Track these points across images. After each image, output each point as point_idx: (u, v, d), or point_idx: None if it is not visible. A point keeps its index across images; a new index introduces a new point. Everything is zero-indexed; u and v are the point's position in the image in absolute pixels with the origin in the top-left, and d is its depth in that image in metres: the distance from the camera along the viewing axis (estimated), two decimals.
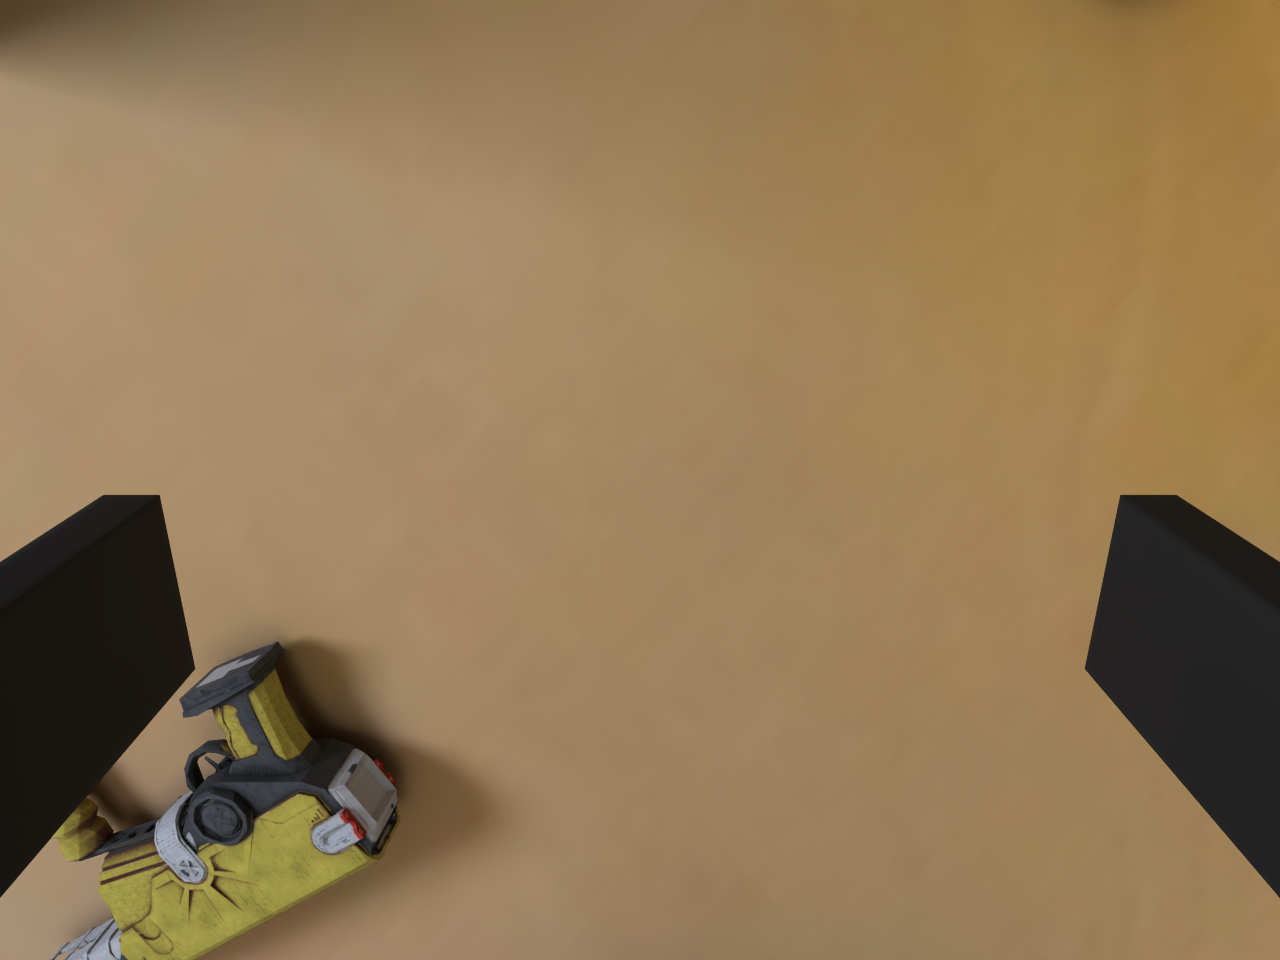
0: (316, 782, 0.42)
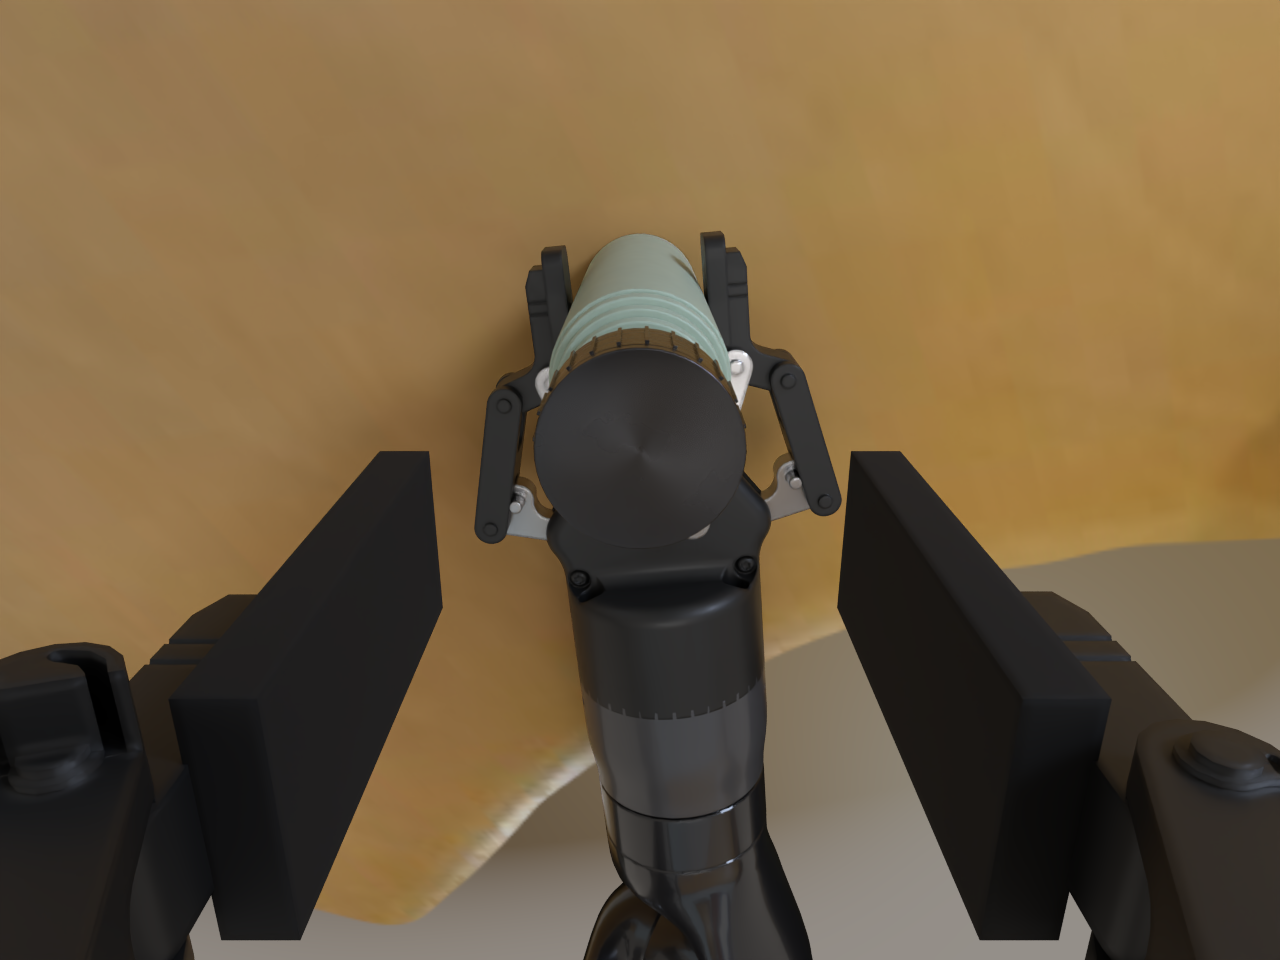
0: None
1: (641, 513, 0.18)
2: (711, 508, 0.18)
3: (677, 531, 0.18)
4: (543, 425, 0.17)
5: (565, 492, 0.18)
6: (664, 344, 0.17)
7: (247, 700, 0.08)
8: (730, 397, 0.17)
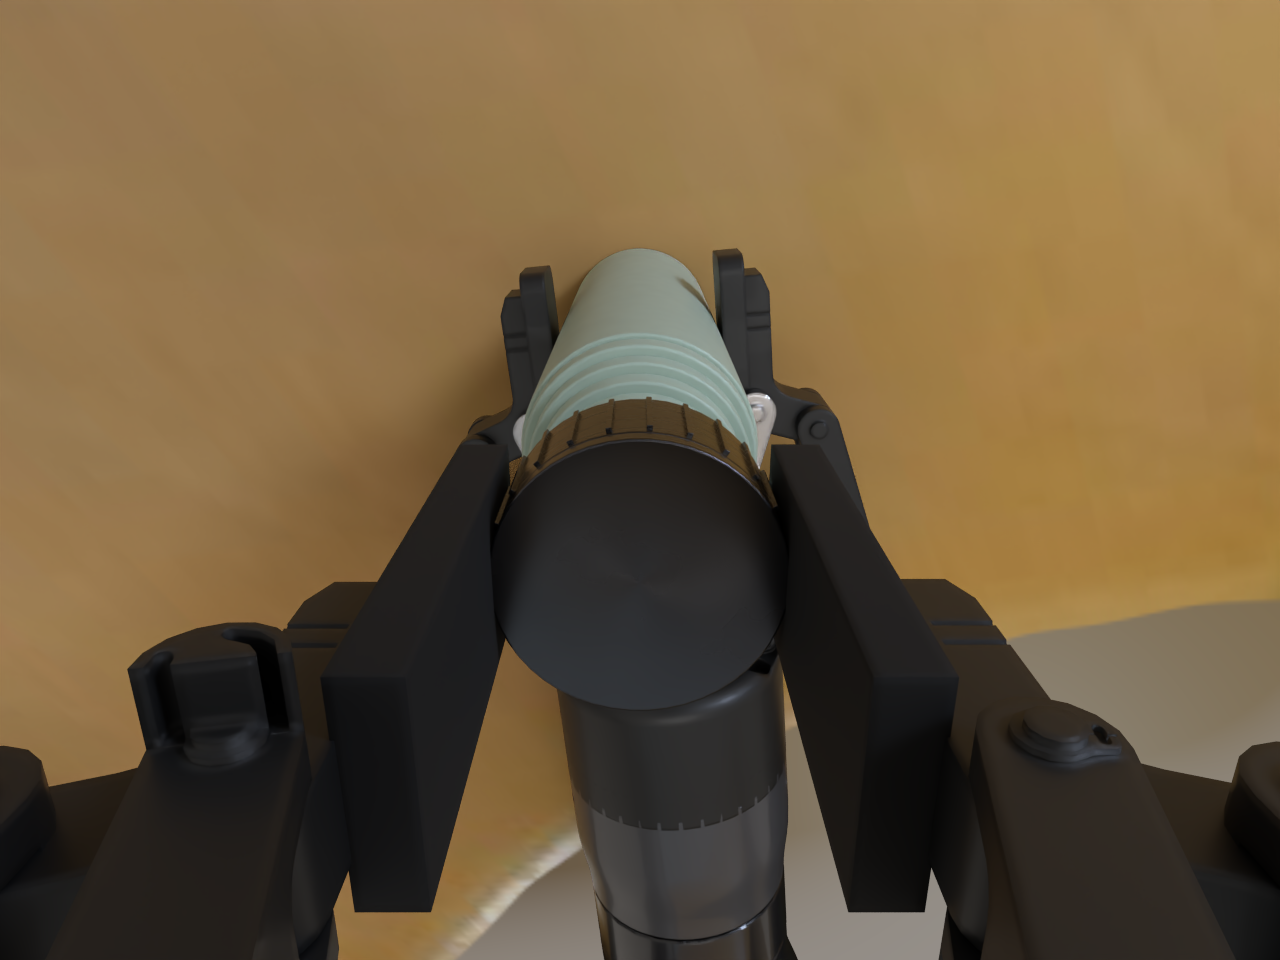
0: None
1: (641, 664, 0.13)
2: (740, 657, 0.13)
3: (692, 688, 0.13)
4: (501, 546, 0.12)
5: (534, 636, 0.13)
6: (674, 430, 0.12)
7: (394, 679, 0.08)
8: (769, 507, 0.12)
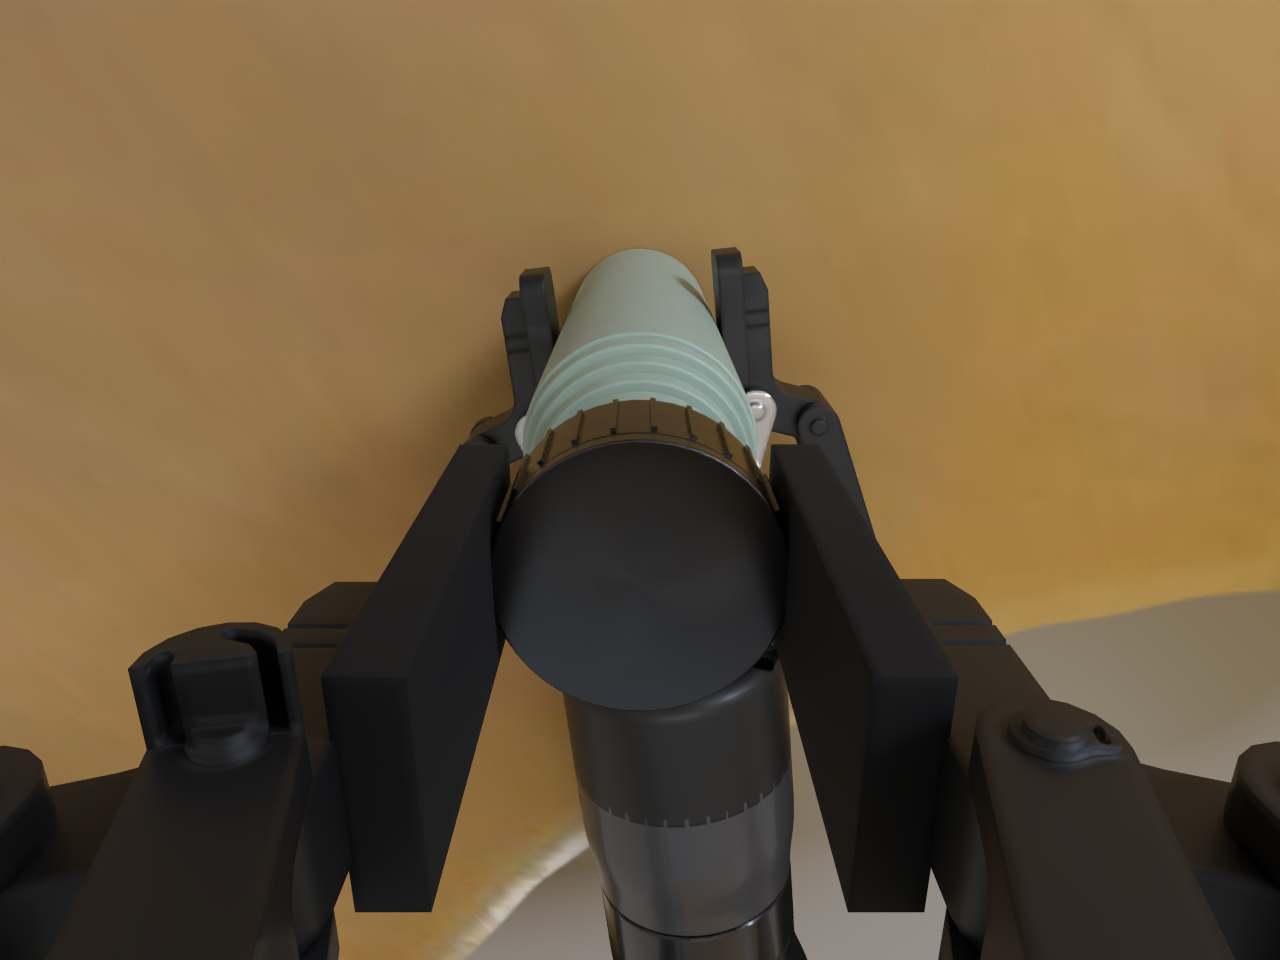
0: None
1: (707, 523, 0.12)
2: (630, 455, 0.12)
3: (692, 467, 0.12)
4: (700, 692, 0.13)
5: (756, 616, 0.13)
6: None
7: (395, 679, 0.08)
8: (492, 551, 0.12)
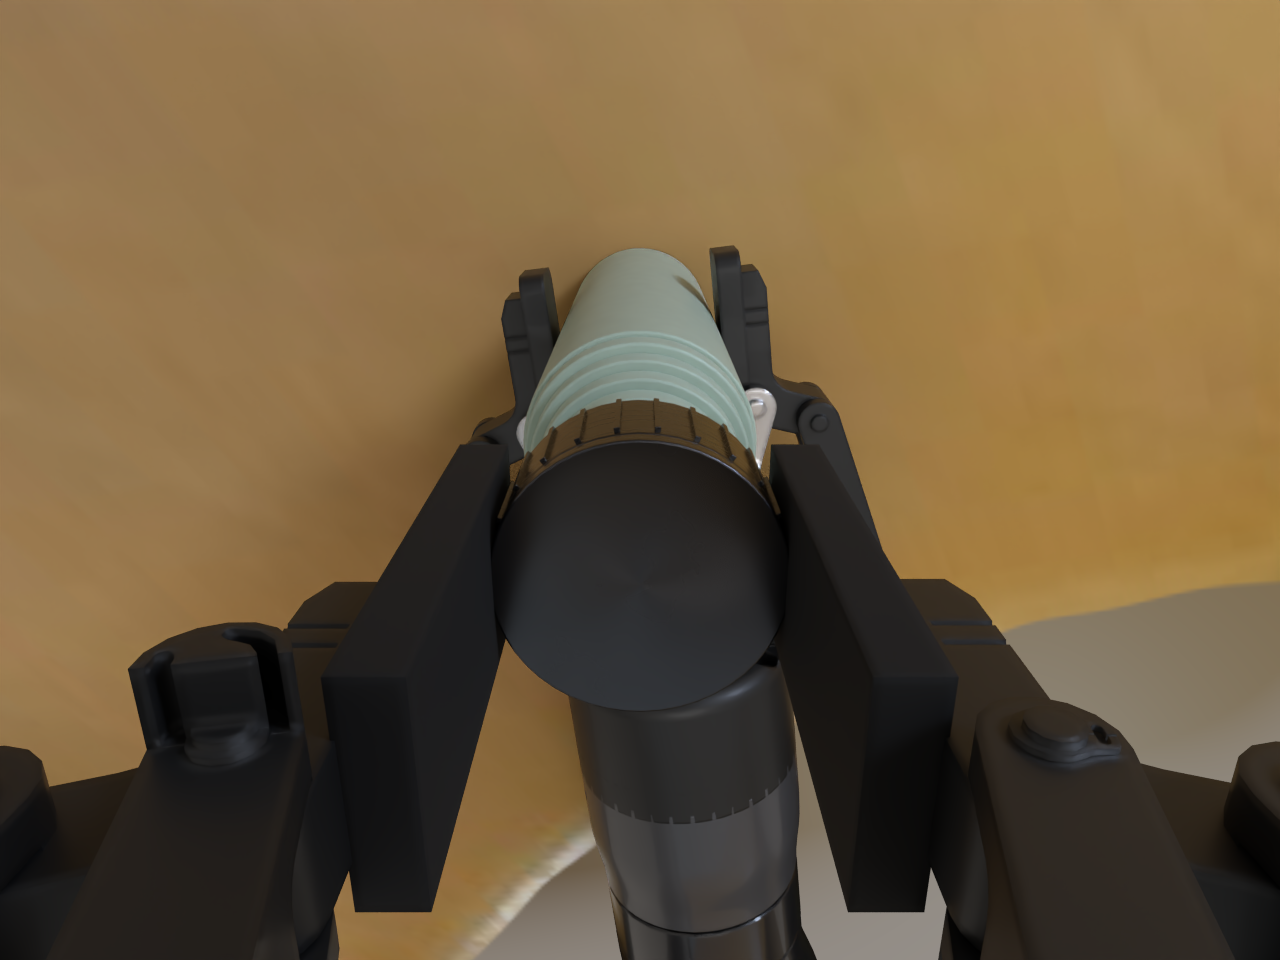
0: None
1: (546, 582, 0.12)
2: (552, 669, 0.13)
3: (517, 628, 0.13)
4: (690, 458, 0.12)
5: (582, 481, 0.12)
6: None
7: (395, 678, 0.08)
8: (711, 694, 0.13)
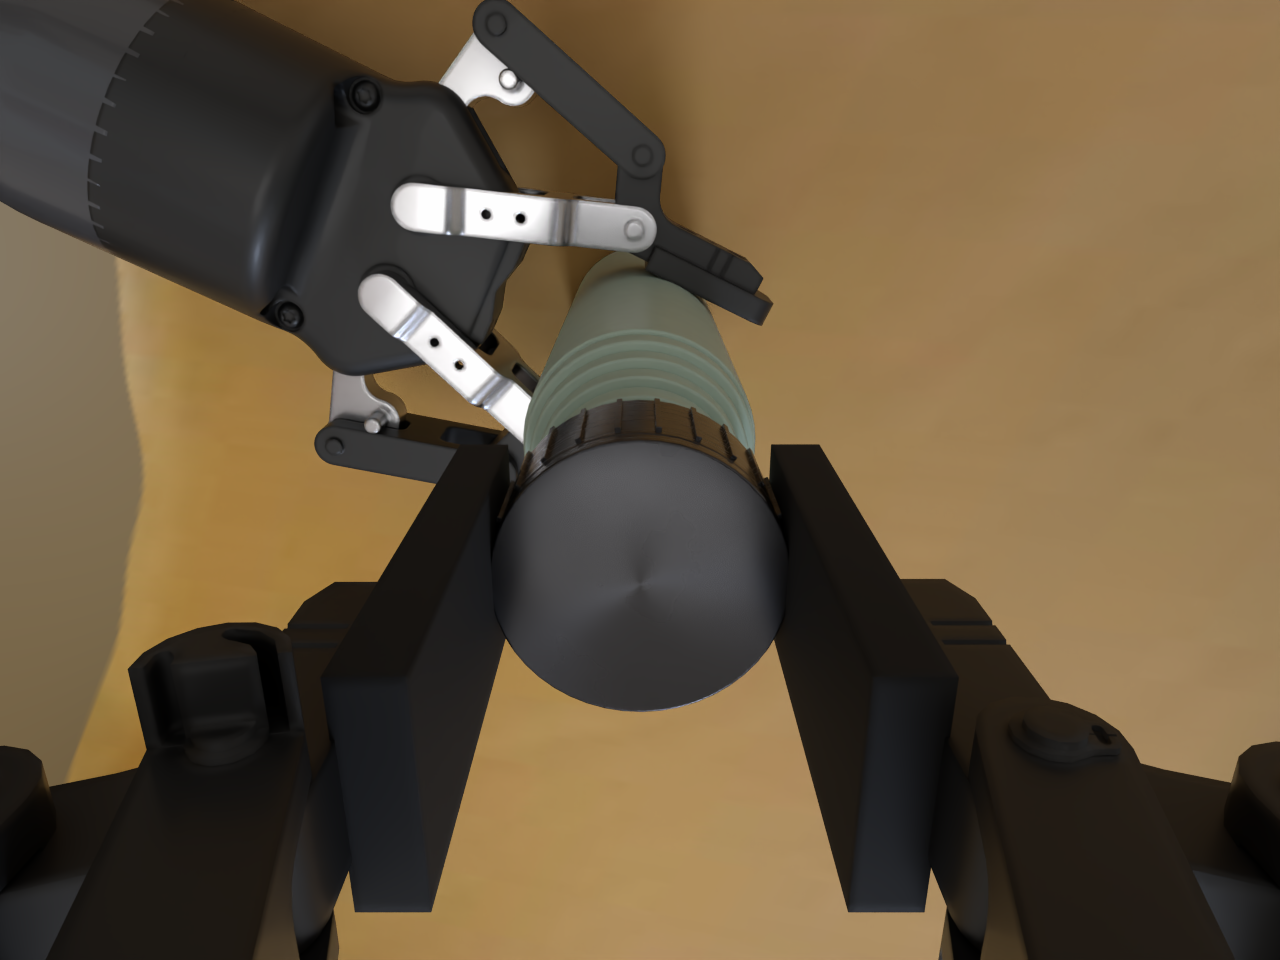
0: None
1: (546, 582, 0.12)
2: (551, 669, 0.13)
3: (517, 627, 0.13)
4: (691, 458, 0.12)
5: (583, 480, 0.12)
6: None
7: (394, 679, 0.08)
8: (710, 694, 0.13)
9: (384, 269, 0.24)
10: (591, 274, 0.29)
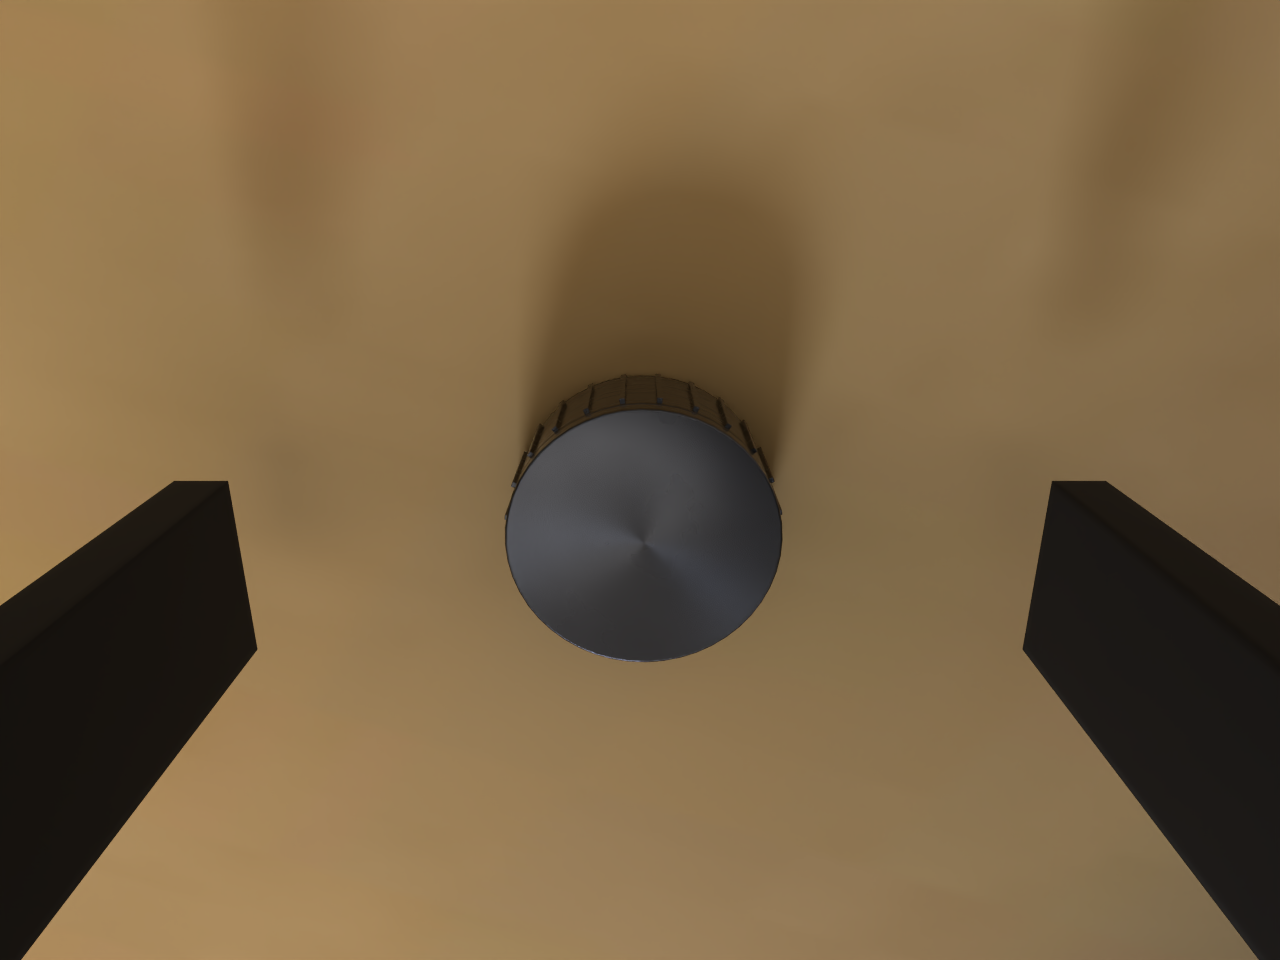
0: None
1: (558, 541, 0.14)
2: (563, 622, 0.14)
3: (531, 584, 0.14)
4: (689, 425, 0.13)
5: (591, 447, 0.13)
6: None
7: None
8: (709, 645, 0.14)
9: None
10: None
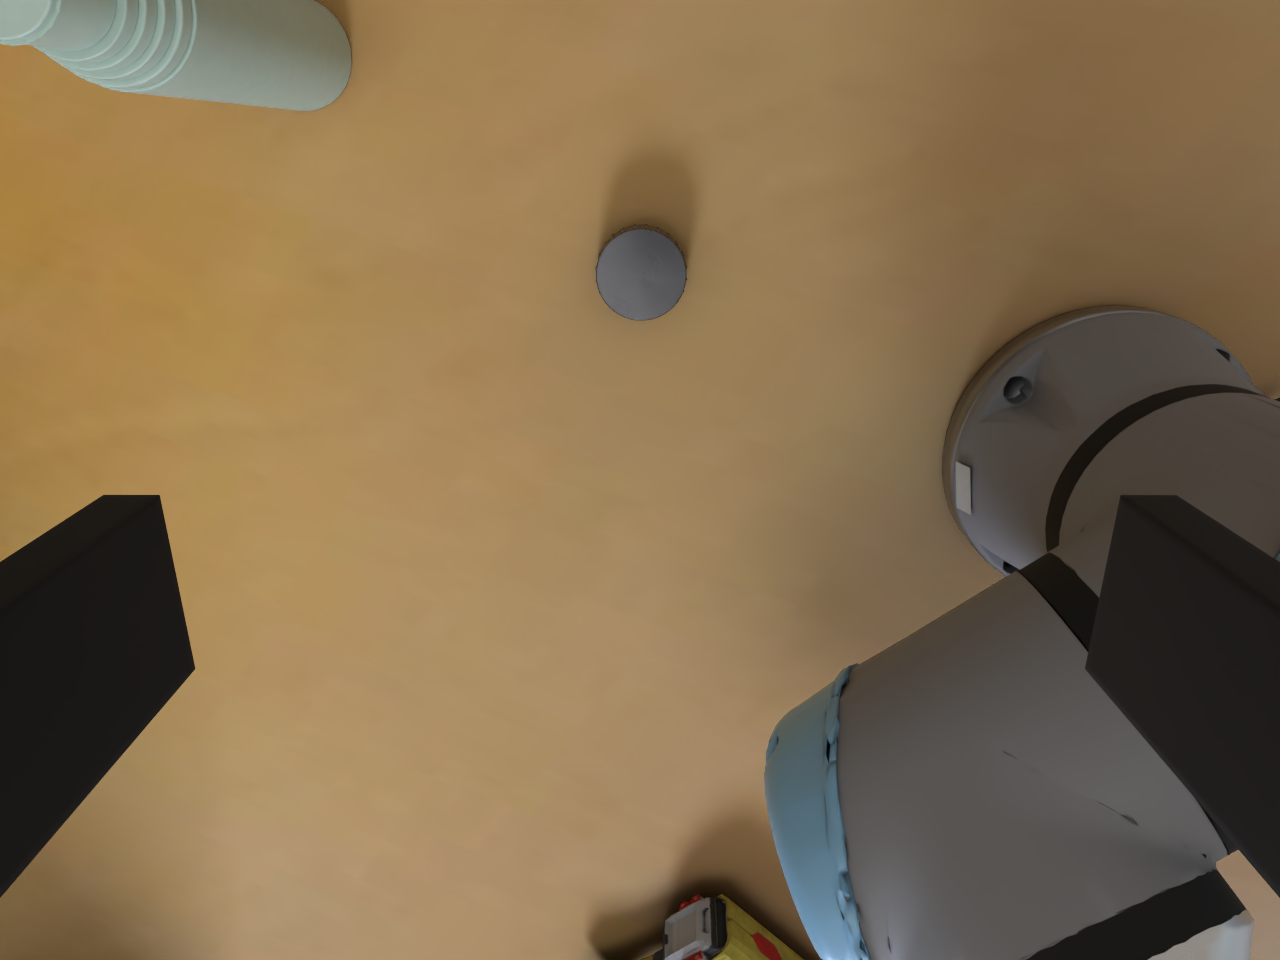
0: None
1: (613, 274, 0.42)
2: (614, 305, 0.42)
3: (604, 290, 0.42)
4: (655, 234, 0.41)
5: (624, 241, 0.41)
6: None
7: None
8: None
9: None
10: None
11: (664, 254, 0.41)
